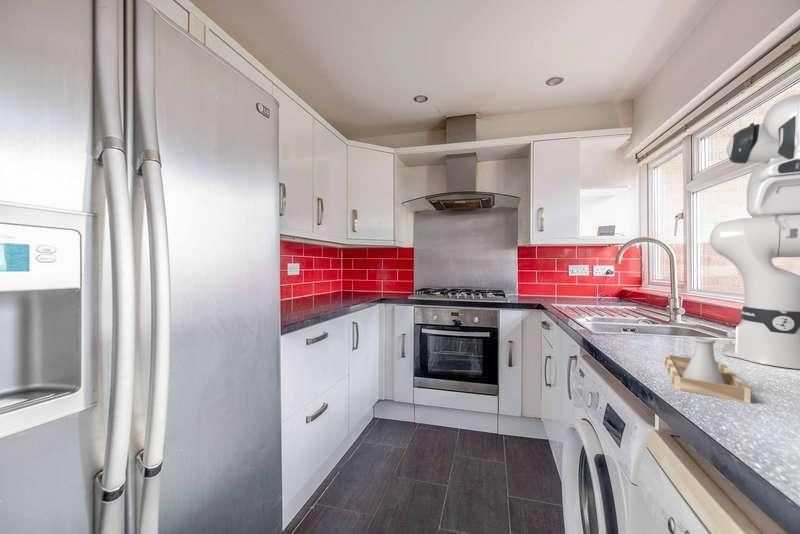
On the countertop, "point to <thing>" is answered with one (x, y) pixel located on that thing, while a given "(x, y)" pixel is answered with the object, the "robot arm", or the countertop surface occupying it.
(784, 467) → the countertop surface
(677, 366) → the oak caddy
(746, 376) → the countertop surface
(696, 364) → the flask
